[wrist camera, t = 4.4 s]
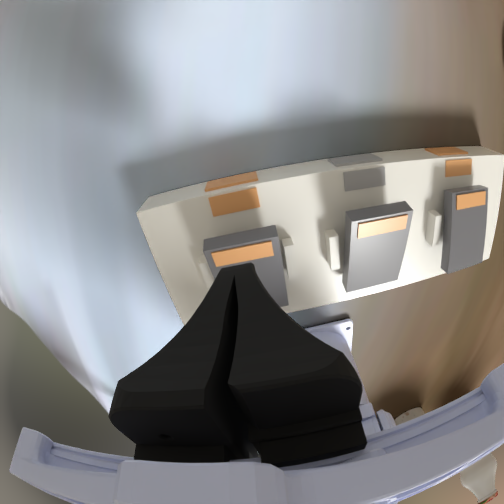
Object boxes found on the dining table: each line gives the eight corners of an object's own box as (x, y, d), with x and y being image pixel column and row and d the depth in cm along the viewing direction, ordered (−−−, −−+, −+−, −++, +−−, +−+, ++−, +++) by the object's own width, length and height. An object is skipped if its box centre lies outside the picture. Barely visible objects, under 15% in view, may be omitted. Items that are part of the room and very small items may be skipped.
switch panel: (471, 243, 22) (494, 264, 19) (190, 305, 24) (184, 339, 20) (481, 144, 17) (512, 156, 14) (148, 194, 19) (130, 216, 15)
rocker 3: (474, 257, 18) (482, 262, 17) (440, 268, 18) (448, 274, 17) (479, 184, 16) (488, 187, 15) (443, 189, 16) (452, 193, 15)
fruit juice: (431, 426, 48) (462, 514, 24) (444, 409, 44) (481, 507, 20) (460, 411, 48) (494, 494, 24) (474, 393, 43) (514, 483, 19)
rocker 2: (392, 270, 19) (398, 280, 18) (341, 281, 19) (346, 293, 18) (405, 200, 15) (414, 211, 14) (345, 211, 15) (352, 222, 14)
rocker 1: (286, 293, 19) (289, 306, 19) (229, 304, 20) (230, 317, 19) (275, 224, 15) (278, 237, 15) (203, 239, 16) (202, 252, 15)
